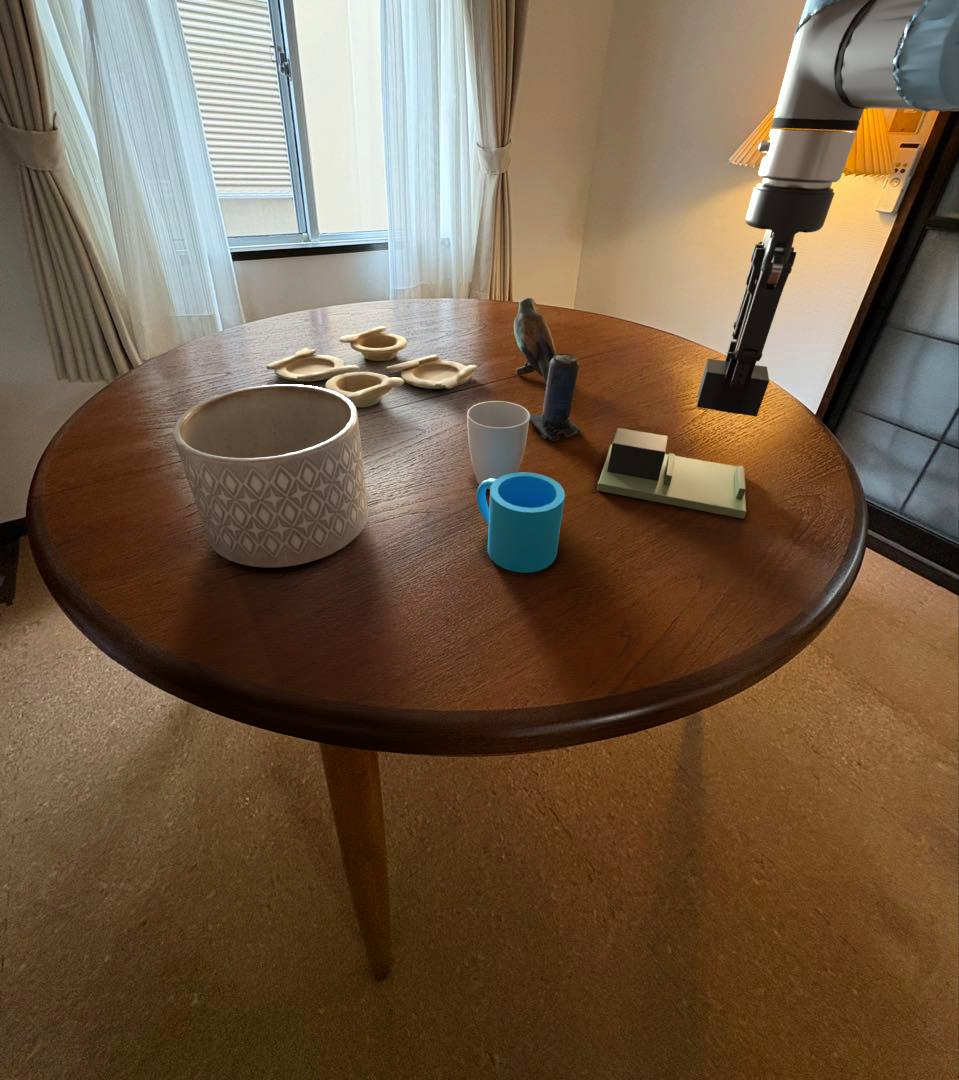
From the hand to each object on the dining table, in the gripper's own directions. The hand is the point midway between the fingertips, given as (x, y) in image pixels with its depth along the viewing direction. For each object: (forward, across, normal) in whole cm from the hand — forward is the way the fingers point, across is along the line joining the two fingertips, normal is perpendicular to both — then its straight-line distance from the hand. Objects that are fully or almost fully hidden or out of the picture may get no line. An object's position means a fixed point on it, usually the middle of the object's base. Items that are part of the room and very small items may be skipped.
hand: (727, 401), depth 70 cm
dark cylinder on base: (+13, -10, -24) cm, 29 cm away
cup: (+13, +9, -27) cm, 31 cm away
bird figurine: (+13, -32, -31) cm, 46 cm away
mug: (+13, +22, -21) cm, 33 cm away
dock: (+13, 0, -4) cm, 13 cm away
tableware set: (+13, -19, -61) cm, 65 cm away
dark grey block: (0, 0, 0) cm, 0 cm away
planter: (+13, +28, -47) cm, 56 cm away
